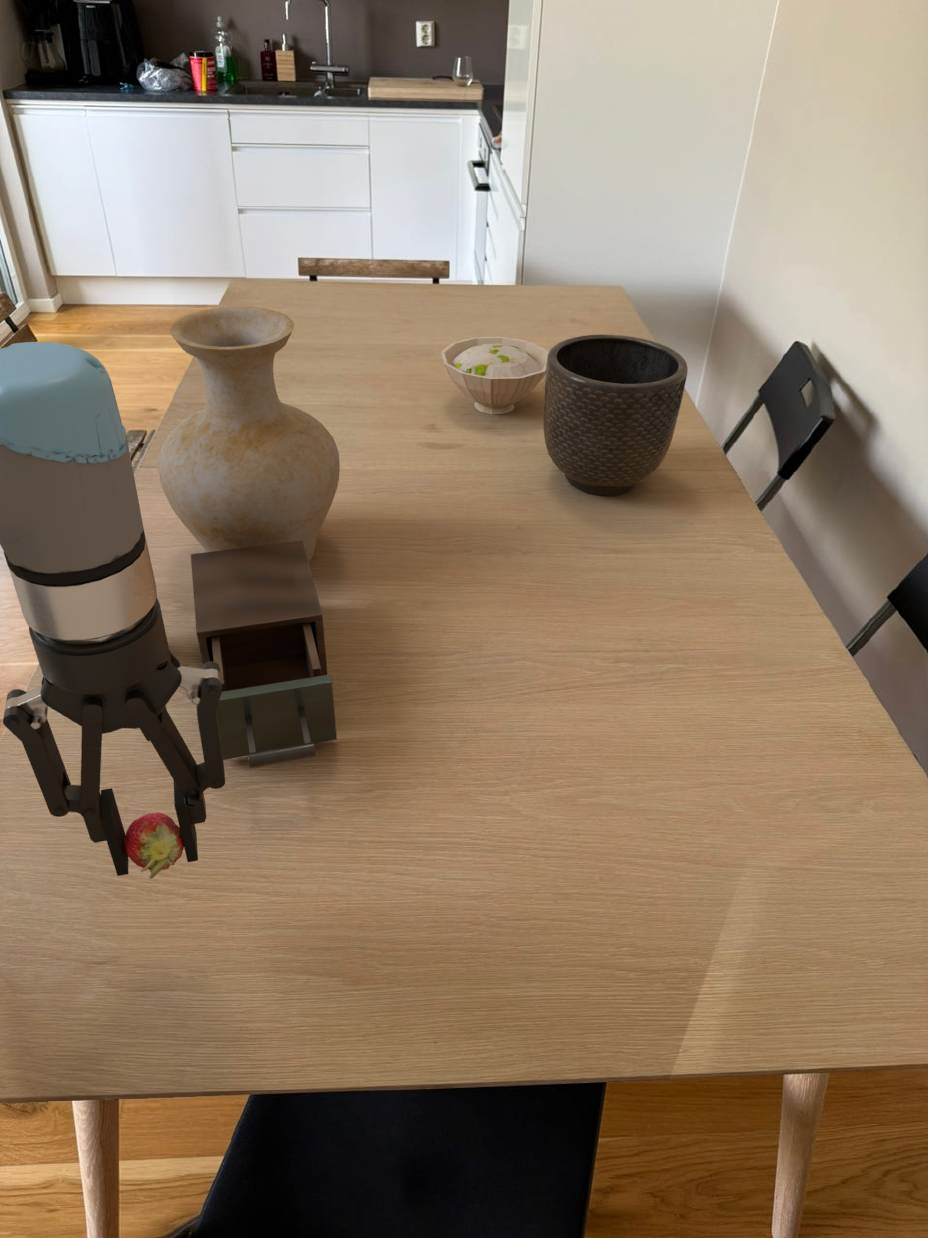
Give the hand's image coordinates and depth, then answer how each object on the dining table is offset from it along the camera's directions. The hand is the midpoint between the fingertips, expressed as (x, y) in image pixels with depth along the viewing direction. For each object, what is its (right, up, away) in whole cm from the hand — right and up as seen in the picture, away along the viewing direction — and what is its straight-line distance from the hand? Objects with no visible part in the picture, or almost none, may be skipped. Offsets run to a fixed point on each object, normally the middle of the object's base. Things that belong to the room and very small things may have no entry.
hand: (157, 853), depth 68 cm
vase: (-3, +27, +50) cm, 57 cm away
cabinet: (0, +14, +34) cm, 37 cm away
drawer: (+4, +7, +23) cm, 25 cm away
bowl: (+29, +55, +89) cm, 108 cm away
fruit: (0, 0, 0) cm, 1 cm away
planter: (+44, +39, +69) cm, 91 cm away
